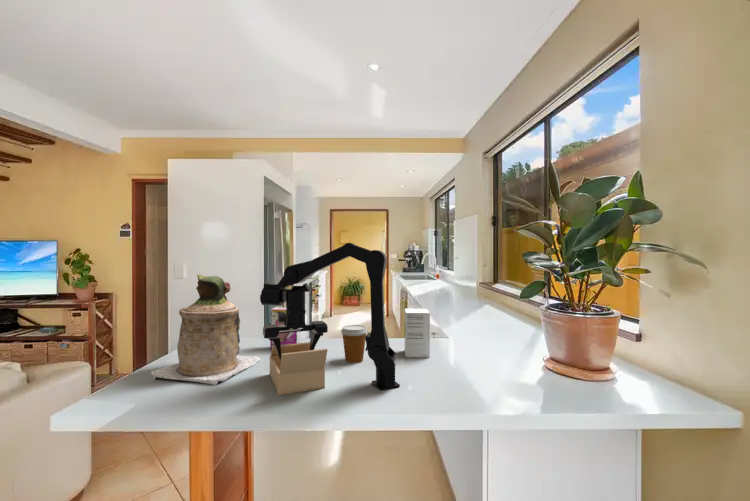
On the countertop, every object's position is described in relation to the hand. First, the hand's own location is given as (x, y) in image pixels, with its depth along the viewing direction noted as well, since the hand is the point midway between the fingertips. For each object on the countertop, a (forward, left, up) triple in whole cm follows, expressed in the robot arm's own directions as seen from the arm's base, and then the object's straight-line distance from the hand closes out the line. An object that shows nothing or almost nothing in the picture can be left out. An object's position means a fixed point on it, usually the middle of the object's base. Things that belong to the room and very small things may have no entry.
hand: (295, 357), depth 107 cm
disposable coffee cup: (+12, -23, -7) cm, 27 cm away
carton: (0, 0, -7) cm, 7 cm away
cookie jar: (+22, +24, -7) cm, 33 cm away
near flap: (-11, 0, +2) cm, 11 cm away
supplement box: (+10, -48, -7) cm, 50 cm away
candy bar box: (+38, -3, -7) cm, 38 cm away
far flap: (+6, 0, +1) cm, 6 cm away
